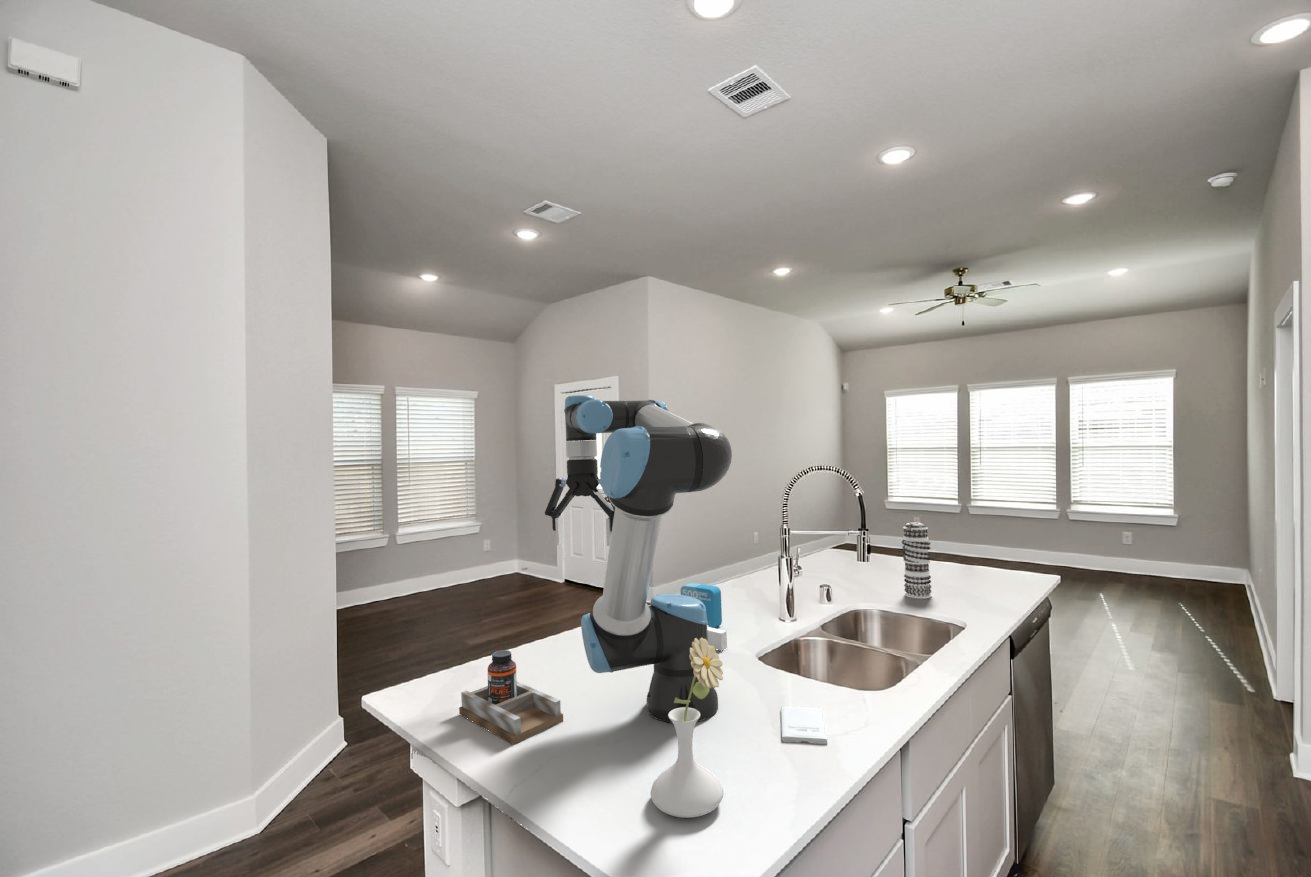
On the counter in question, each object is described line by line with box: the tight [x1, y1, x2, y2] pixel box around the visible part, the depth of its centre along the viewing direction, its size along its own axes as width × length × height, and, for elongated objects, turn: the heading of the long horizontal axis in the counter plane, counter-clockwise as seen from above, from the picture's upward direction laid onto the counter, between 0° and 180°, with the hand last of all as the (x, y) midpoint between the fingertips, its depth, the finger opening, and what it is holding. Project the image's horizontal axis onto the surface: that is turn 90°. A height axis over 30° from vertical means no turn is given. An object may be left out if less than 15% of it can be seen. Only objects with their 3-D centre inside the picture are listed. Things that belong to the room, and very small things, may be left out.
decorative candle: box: [901, 521, 932, 600], centre depth 205 cm, size 9×9×25 cm
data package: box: [680, 582, 723, 629], centre depth 180 cm, size 12×4×12 cm, turn 53°
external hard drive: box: [780, 705, 828, 745], centre depth 115 cm, size 2×8×12 cm
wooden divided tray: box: [458, 681, 564, 745], centre depth 123 cm, size 20×12×4 cm, turn 47°
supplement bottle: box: [487, 649, 518, 705], centre depth 125 cm, size 6×6×11 cm
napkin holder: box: [707, 625, 728, 652], centre depth 163 cm, size 15×11×6 cm
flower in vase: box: [650, 638, 725, 819], centre depth 93 cm, size 13×11×25 cm
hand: (584, 544), depth 146 cm, fingers open, 13 cm apart
